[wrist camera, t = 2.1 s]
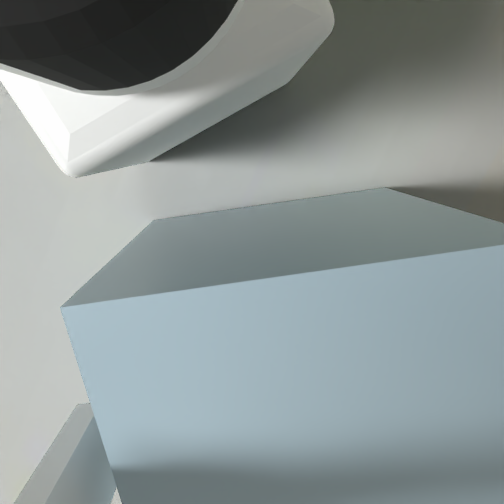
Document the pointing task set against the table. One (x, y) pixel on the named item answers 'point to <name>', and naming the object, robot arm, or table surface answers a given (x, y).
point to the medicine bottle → (146, 69)
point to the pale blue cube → (301, 355)
